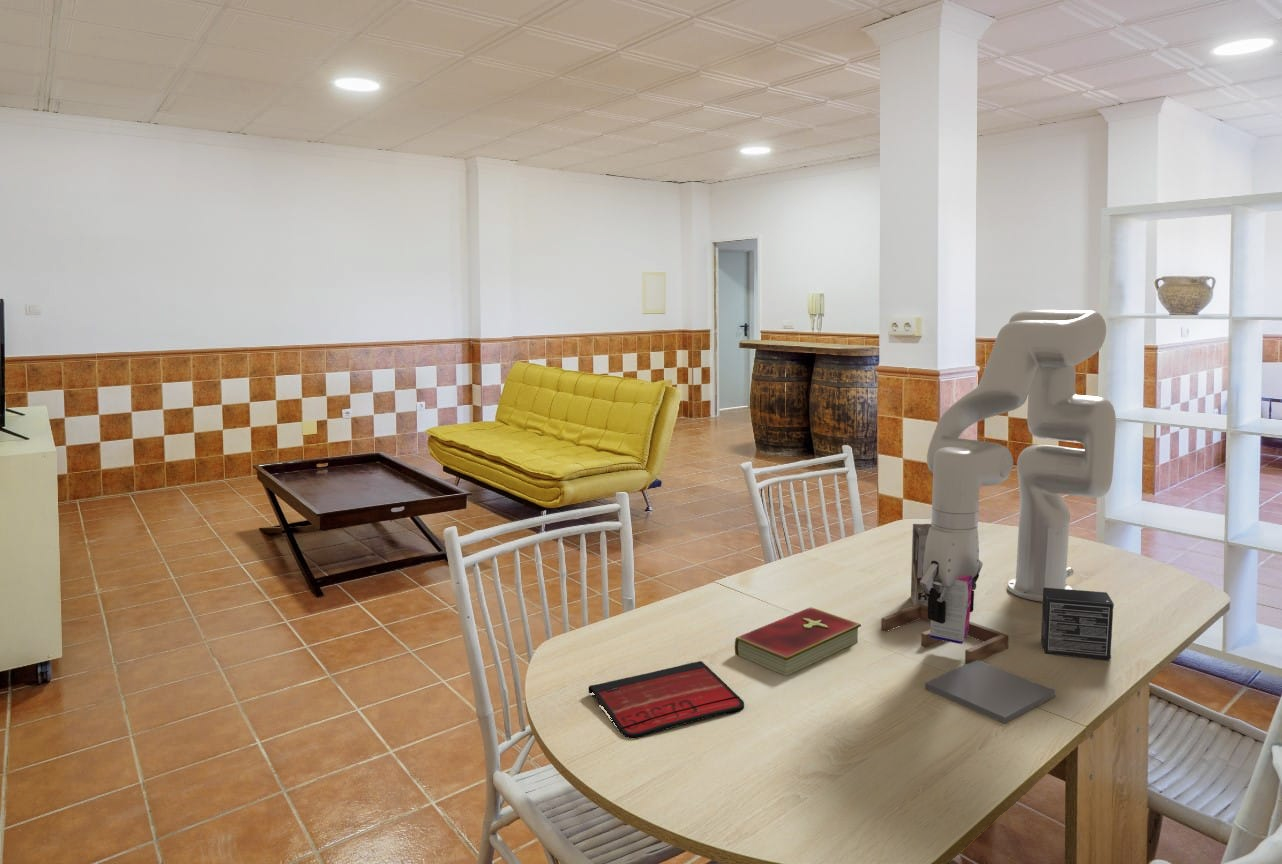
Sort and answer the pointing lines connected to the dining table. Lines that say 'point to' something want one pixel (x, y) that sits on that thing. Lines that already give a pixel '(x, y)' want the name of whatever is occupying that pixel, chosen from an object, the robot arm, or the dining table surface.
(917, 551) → the coffee box
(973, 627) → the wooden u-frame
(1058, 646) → the small box
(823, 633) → the hardcover book
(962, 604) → the supplement box
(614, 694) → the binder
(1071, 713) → the dining table surface
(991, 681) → the slate board
